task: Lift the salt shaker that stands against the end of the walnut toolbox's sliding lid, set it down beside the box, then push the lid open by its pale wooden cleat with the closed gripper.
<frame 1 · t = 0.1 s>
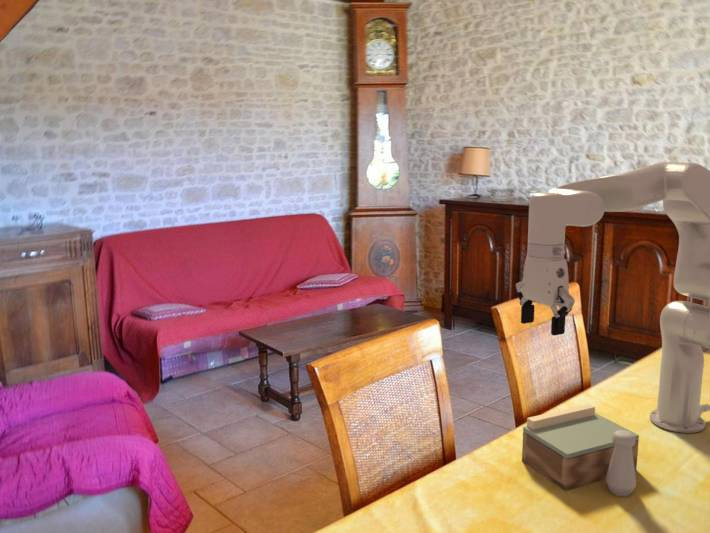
hand: (542, 328, 139), 31 cm above the table, tool pointing down, fingers open, 9 cm apart
toolbox: (578, 465, 143), on the table
salt shaker: (619, 492, 132), on the table
lid: (580, 428, 141), point 9 cm above the table, slide at 0.0 cm
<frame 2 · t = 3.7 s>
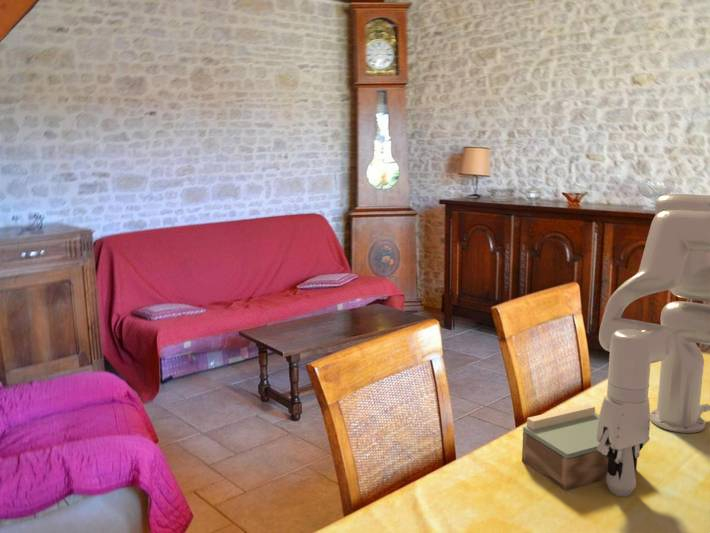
hand: (621, 474, 131), 4 cm above the table, tool pointing down, fingers closed on salt shaker, 3 cm apart
salt shaker: (619, 492, 132), on the table, touching gripper
everything else where it was.
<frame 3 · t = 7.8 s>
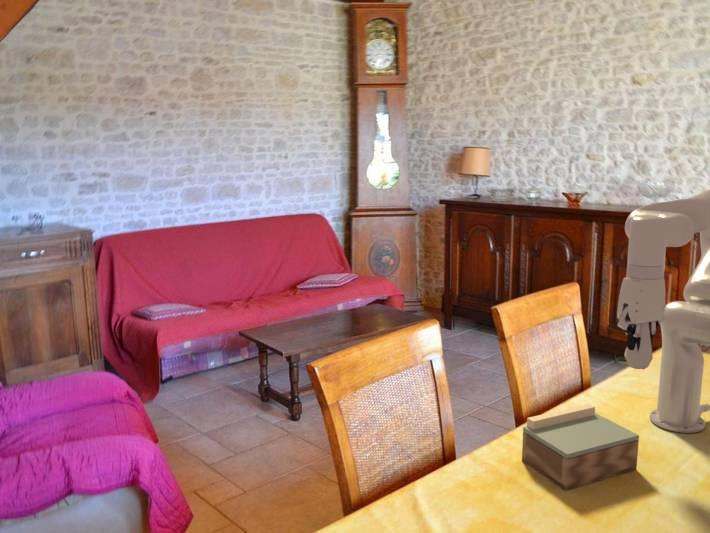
hand: (639, 350, 144), 24 cm above the table, tool pointing down, fingers closed on salt shaker, 3 cm apart
salt shaker: (637, 367, 145), point 21 cm above the table, touching gripper
everything else where it was.
when the fingers open (5 cm above the table, at t = 11.5 s): salt shaker drops 1 cm, on the table.
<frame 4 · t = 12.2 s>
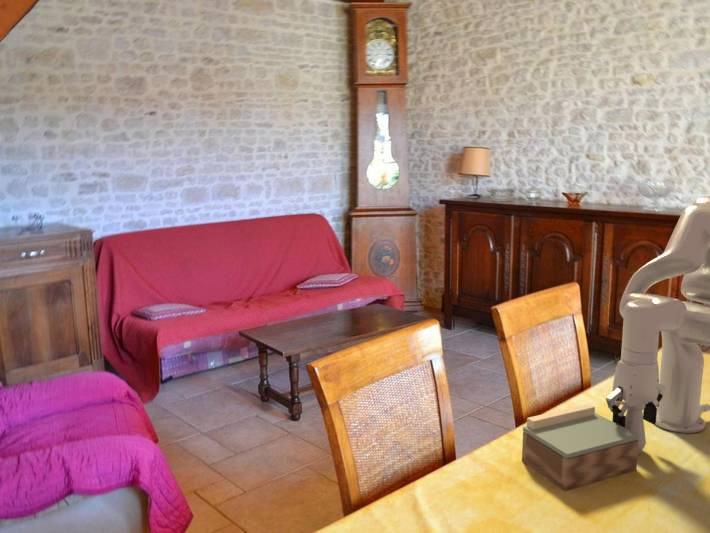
hand: (633, 425, 148), 6 cm above the table, tool pointing down, fingers open, 9 cm apart
salt shaker: (631, 451, 149), on the table
lid: (580, 428, 141), point 9 cm above the table, slide at 0.0 cm, touching gripper
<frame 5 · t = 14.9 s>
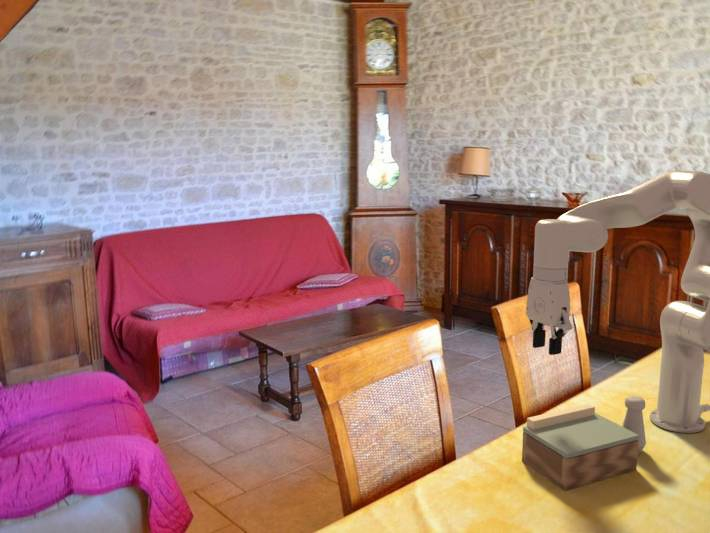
hand: (546, 349, 149), 23 cm above the table, tool pointing down, fingers open, 4 cm apart
lid: (580, 428, 141), point 9 cm above the table, slide at 0.0 cm
everything else where it was.
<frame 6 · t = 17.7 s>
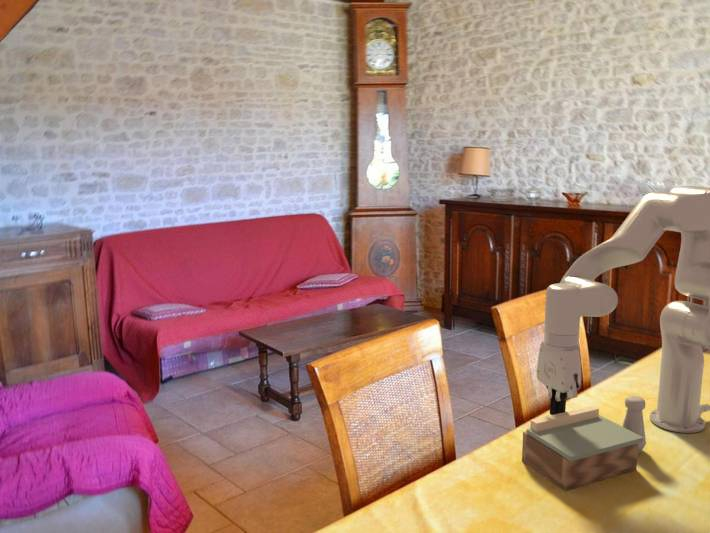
hand: (557, 414, 148), 9 cm above the table, tool pointing down, fingers closed
lid: (584, 431, 140), point 9 cm above the table, slide at 1.2 cm, touching gripper
everything else where it was.
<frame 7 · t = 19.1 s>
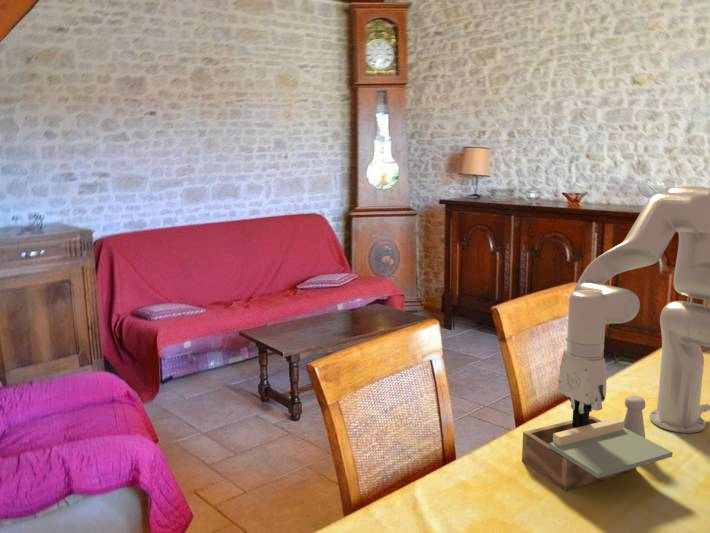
hand: (580, 427, 141), 9 cm above the table, tool pointing down, fingers closed
lid: (609, 445, 134), point 9 cm above the table, slide at 8.5 cm, touching gripper
everything else where it was.
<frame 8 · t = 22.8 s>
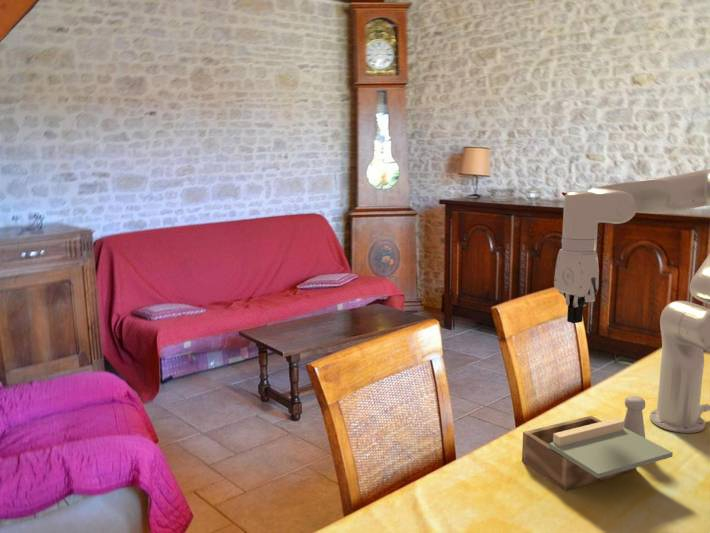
hand: (574, 321, 151), 29 cm above the table, tool pointing down, fingers closed
lid: (610, 445, 133), point 9 cm above the table, slide at 8.6 cm
everything else where it was.
at the end: lid slide at 8.6 cm; salt shaker inside the target area (0.4 cm from its centre), on the table; salt shaker tilted 0° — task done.
